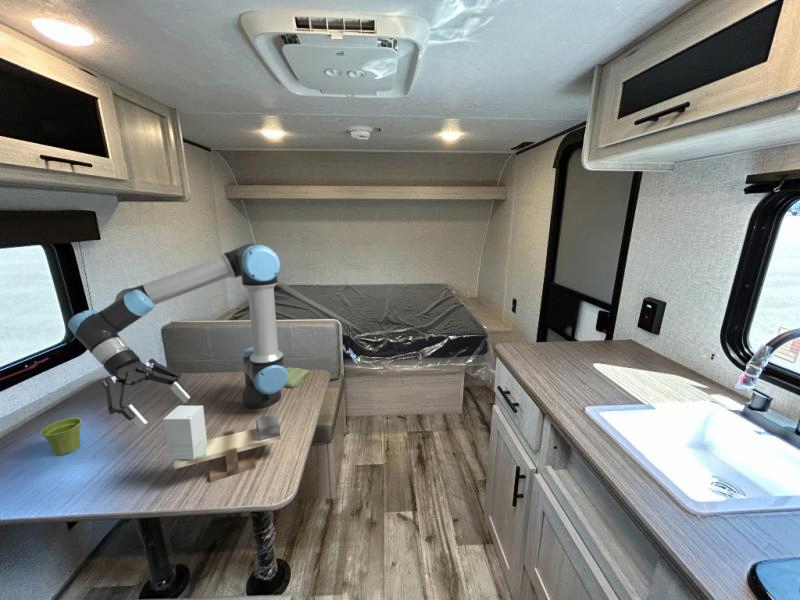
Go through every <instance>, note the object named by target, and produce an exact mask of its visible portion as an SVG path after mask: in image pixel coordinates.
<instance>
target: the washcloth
mask: <svg viewBox="0 0 800 600" xmlns="http://www.w3.org/2000/svg"><path fill="white" fill-rule="evenodd" d="M285 368H286V370H287V373H288V380H287V383H286V385H285V386H284V387H283V388H287V387H288V388H289V389H295V388H296V387H298V386H299V385H300V384H301V382H302V381H303V380H304V379H305V378H306V377H307V376H306V375H309V372H310V373H311V371H310V370H309V369H305V368H299V367H295V368H294V367H290V366H289V367H285ZM304 377H305V378H304ZM303 378H304V379H303ZM299 383H300V384H299Z"/></svg>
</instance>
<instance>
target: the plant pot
mask: <svg viewBox="0 0 800 600" xmlns="http://www.w3.org/2000/svg"><path fill="white" fill-rule="evenodd" d="M82 421H83V420H82V419H81V418H79V417H70V418H65V419H62V420H58V421H55V422H53V423H51V424H48V425H46V426H45V427H43V429H41V430H40V435H41V436H43V437H44V438H45V439H46V440H47V442H48V445H49V446H50V448H51V450H52V452H53V454H54V455H55V456H64V455H66V454H71V453H73V452H75V451H76V450H78V449H79V448H80V447H81V431H80V430H81V424H82Z"/></svg>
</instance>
